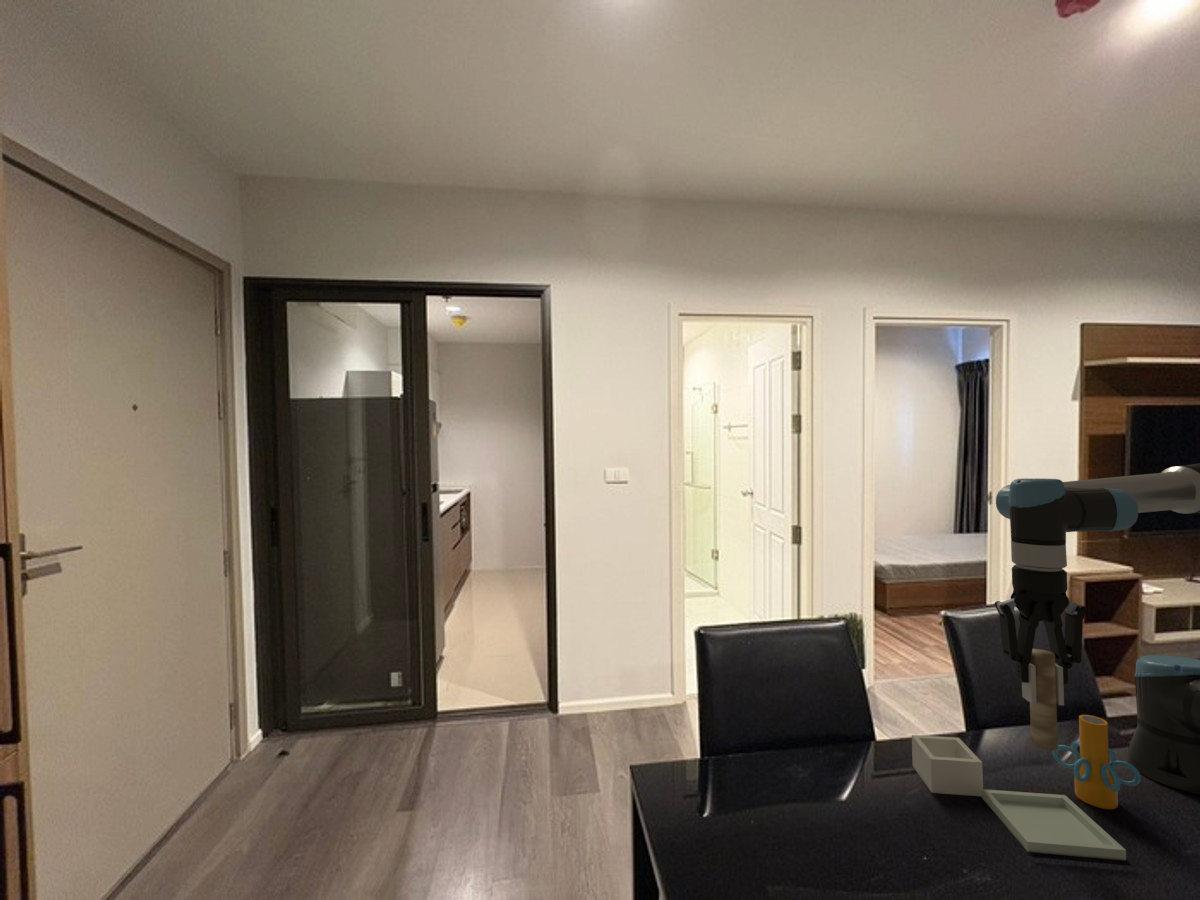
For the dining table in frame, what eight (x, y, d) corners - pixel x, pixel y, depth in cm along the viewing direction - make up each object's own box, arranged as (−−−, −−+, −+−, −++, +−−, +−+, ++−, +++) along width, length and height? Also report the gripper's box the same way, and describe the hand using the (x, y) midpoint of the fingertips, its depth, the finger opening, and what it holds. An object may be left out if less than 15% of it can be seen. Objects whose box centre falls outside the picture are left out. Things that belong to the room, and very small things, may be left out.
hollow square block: (959, 771, 111) (958, 737, 111) (983, 799, 102) (982, 762, 102) (912, 768, 112) (911, 735, 112) (931, 795, 103) (930, 759, 103)
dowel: (1049, 739, 95) (1046, 649, 95) (1063, 750, 91) (1060, 656, 92) (1026, 738, 96) (1023, 648, 96) (1039, 749, 92) (1036, 655, 92)
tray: (1065, 807, 99) (1065, 795, 99) (1126, 864, 85) (1125, 850, 85) (981, 800, 101) (981, 789, 101) (1028, 855, 88) (1027, 841, 88)
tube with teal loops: (1155, 825, 94) (1152, 738, 94) (1086, 818, 96) (1083, 734, 96) (1105, 783, 106) (1102, 706, 106) (1044, 778, 108) (1042, 703, 108)
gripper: (1076, 563, 96) (1081, 694, 96) (975, 561, 99) (979, 689, 99) (1108, 571, 89) (1113, 714, 89) (998, 570, 92) (1002, 708, 91)
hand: (1042, 700), depth 94 cm, fingers closed on dowel, 3 cm apart
